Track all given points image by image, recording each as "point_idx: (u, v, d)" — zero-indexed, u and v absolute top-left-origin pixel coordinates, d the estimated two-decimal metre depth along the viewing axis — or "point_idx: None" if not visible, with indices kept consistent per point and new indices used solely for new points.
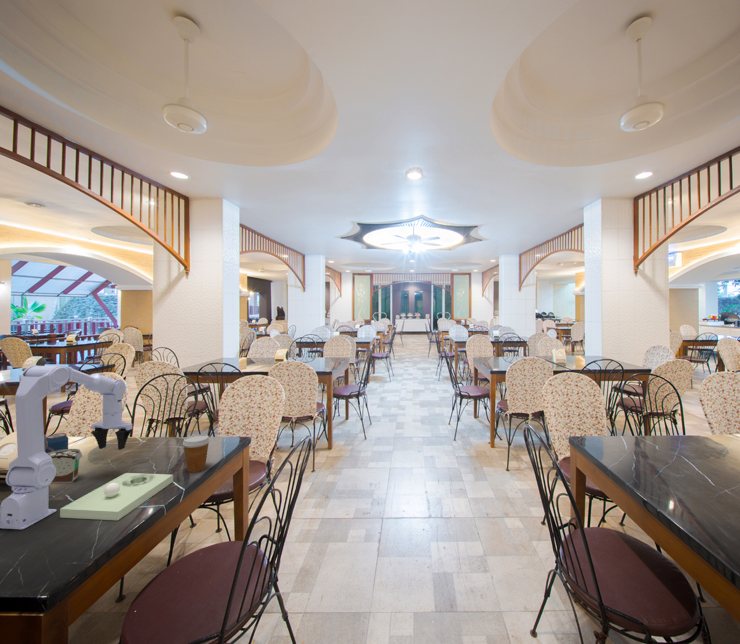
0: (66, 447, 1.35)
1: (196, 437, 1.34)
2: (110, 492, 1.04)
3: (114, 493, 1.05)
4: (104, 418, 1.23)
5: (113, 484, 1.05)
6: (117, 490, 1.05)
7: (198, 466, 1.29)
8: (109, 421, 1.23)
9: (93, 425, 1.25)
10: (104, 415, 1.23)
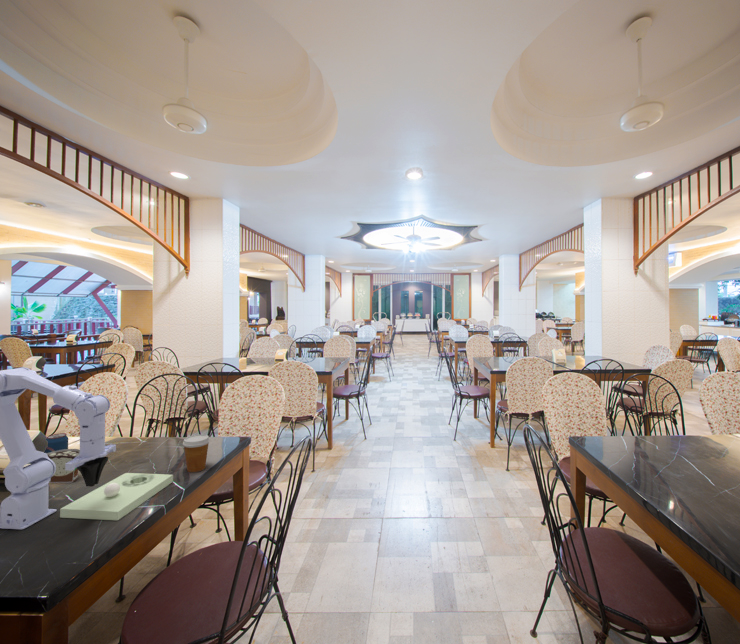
0: (66, 447, 1.35)
1: (196, 437, 1.34)
2: (110, 492, 1.04)
3: (114, 493, 1.05)
4: None
5: (113, 484, 1.05)
6: (117, 490, 1.05)
7: (198, 466, 1.29)
8: None
9: None
10: None
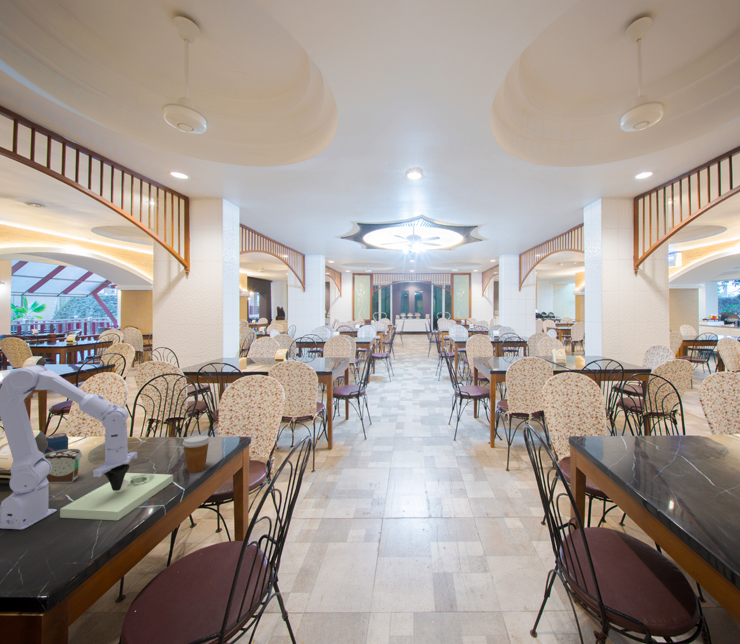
0: (66, 447, 1.35)
1: (196, 437, 1.34)
2: (123, 481, 1.08)
3: (122, 485, 1.08)
4: None
5: None
6: (125, 486, 1.08)
7: (198, 466, 1.29)
8: None
9: None
10: None
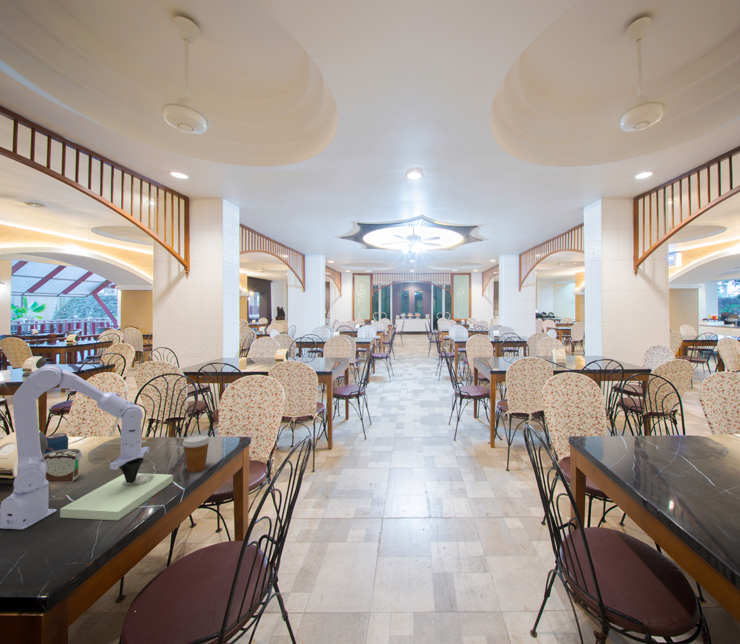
0: (66, 447, 1.35)
1: (196, 437, 1.34)
2: None
3: None
4: None
5: (136, 482, 1.15)
6: None
7: (198, 466, 1.29)
8: None
9: None
10: None
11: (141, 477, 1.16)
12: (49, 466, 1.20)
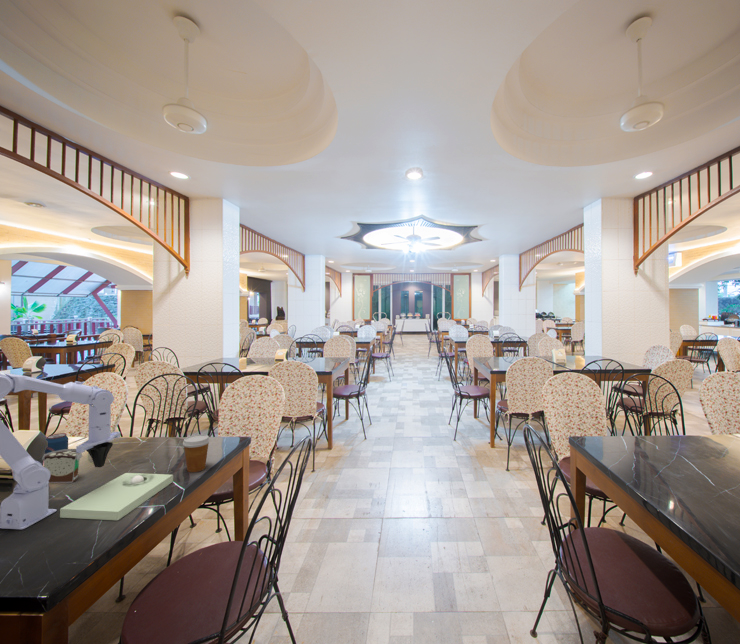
0: (66, 447, 1.35)
1: (196, 437, 1.34)
2: None
3: None
4: None
5: None
6: None
7: (198, 466, 1.29)
8: None
9: None
10: None
11: (135, 478, 1.16)
12: (49, 466, 1.20)
